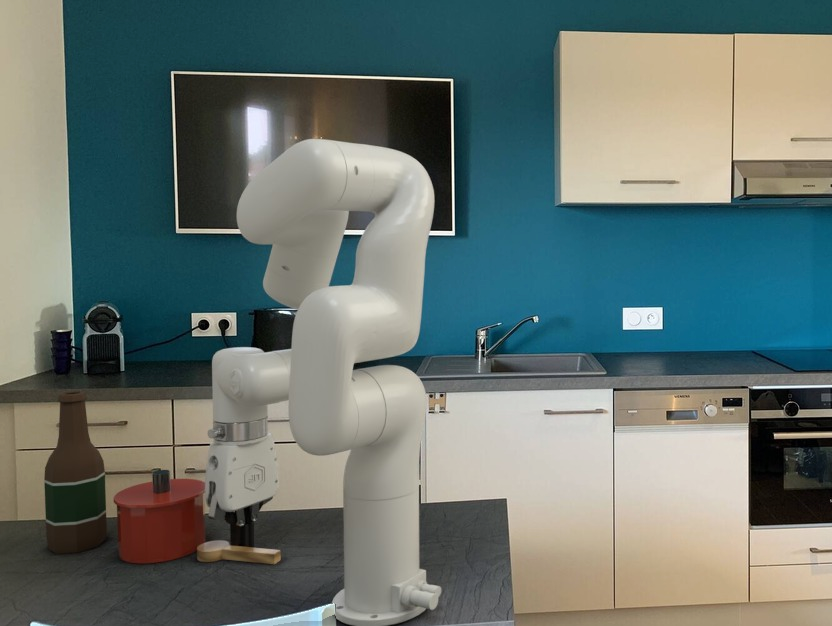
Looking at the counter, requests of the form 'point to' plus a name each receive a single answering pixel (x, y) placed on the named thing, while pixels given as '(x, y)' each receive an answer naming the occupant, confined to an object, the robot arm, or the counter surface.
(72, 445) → the beer bottle
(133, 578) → the counter surface
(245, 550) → the spoon
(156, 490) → the pot lid
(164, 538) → the pot
